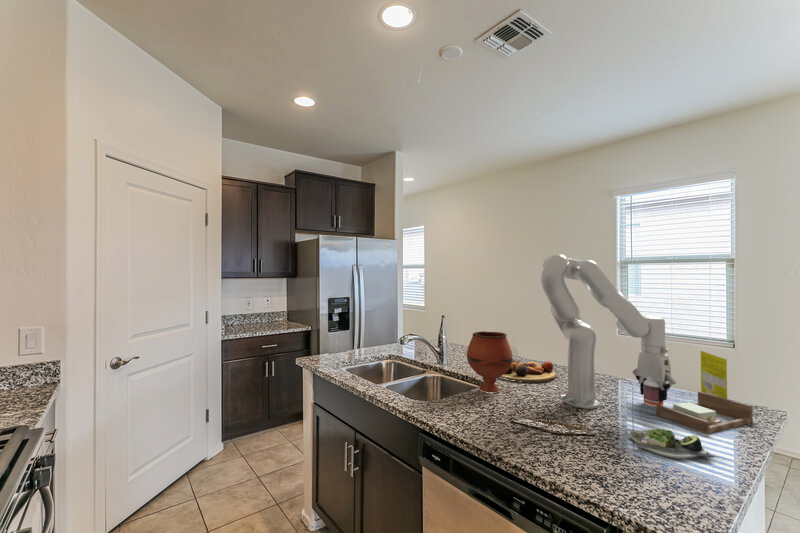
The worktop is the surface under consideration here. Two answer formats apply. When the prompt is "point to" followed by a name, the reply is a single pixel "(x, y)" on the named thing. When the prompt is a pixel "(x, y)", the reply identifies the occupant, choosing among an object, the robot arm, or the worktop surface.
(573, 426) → the wooden fragment
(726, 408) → the walnut rack
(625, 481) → the worktop surface
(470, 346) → the goblet
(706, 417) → the ash offcut
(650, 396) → the pill bottle
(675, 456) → the salad plate
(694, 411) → the sage painted offcut
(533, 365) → the wooden plate with food
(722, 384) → the food package
